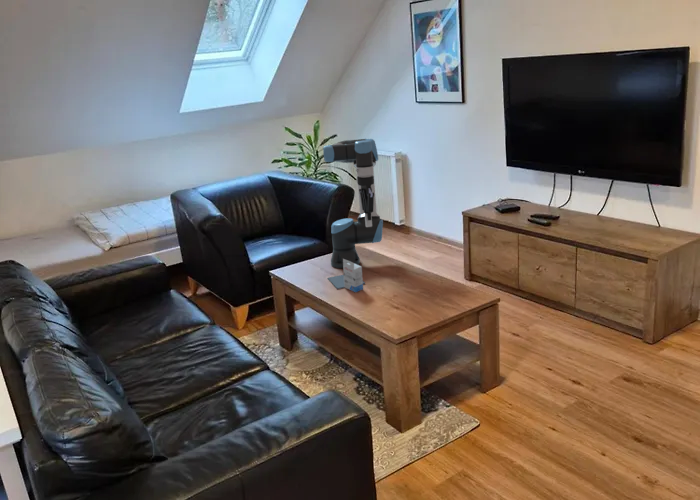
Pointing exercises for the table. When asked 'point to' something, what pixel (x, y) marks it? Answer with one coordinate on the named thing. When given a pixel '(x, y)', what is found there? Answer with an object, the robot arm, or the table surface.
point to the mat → (338, 281)
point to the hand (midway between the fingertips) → (368, 226)
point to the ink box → (352, 276)
